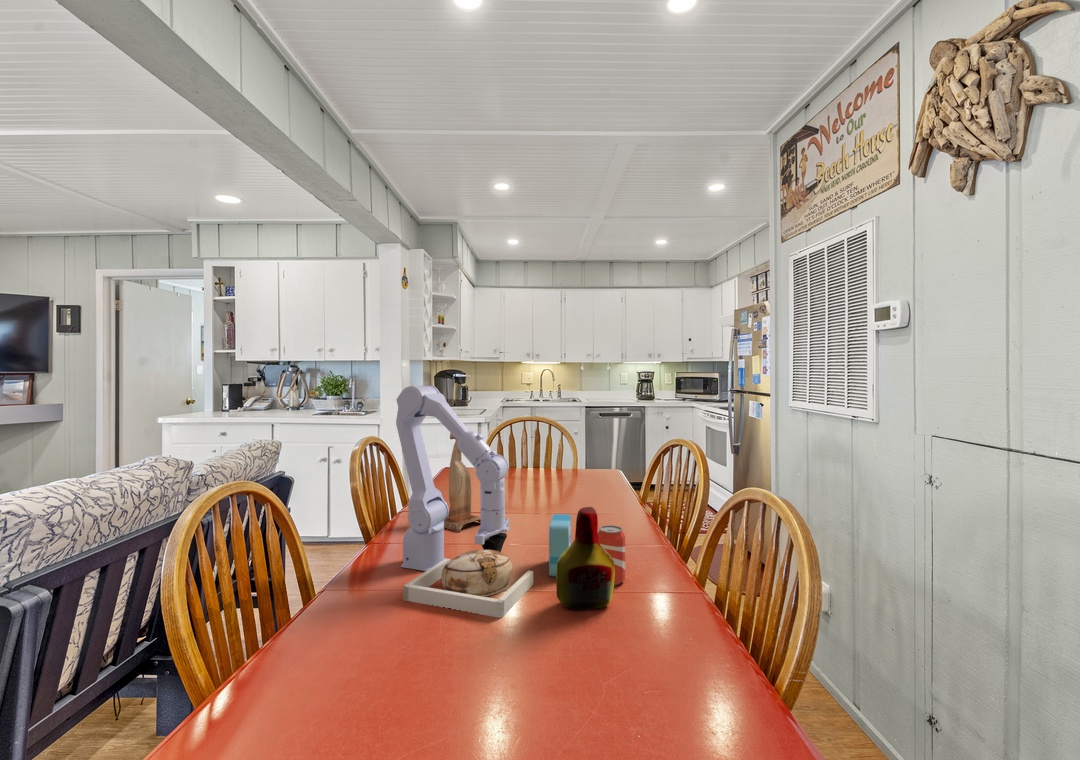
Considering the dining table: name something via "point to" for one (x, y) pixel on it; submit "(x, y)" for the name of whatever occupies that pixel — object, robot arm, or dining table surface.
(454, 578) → the trinket box
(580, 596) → the bottle
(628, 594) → the dining table surface
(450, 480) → the bird sculpture
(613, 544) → the beverage can
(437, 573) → the display bay
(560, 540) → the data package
